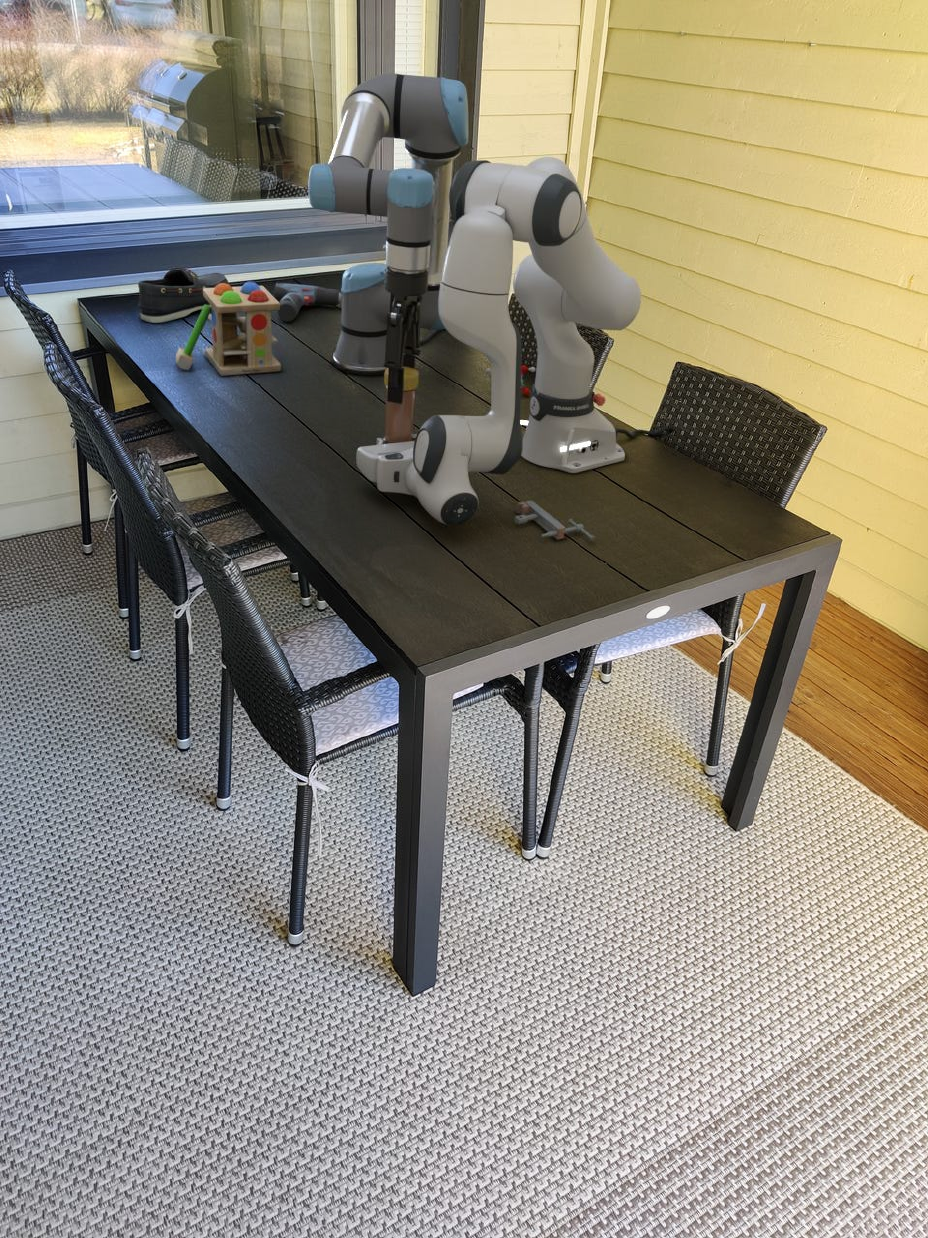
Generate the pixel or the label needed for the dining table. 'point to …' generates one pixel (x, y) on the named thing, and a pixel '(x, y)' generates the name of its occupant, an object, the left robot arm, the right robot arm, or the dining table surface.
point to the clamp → (546, 521)
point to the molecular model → (524, 369)
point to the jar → (400, 418)
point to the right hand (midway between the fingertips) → (396, 439)
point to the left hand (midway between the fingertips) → (400, 395)
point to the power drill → (302, 298)
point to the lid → (406, 378)
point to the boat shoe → (175, 294)
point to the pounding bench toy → (229, 347)
